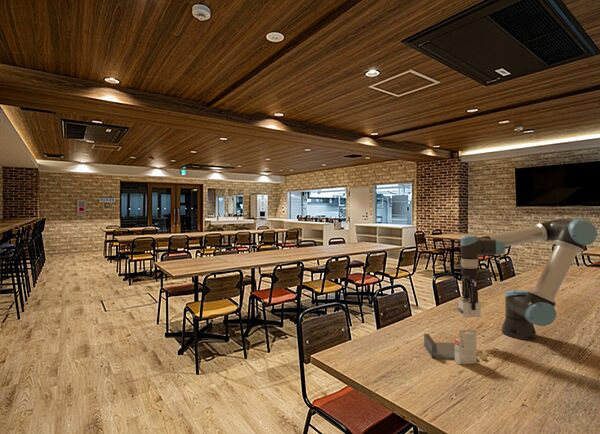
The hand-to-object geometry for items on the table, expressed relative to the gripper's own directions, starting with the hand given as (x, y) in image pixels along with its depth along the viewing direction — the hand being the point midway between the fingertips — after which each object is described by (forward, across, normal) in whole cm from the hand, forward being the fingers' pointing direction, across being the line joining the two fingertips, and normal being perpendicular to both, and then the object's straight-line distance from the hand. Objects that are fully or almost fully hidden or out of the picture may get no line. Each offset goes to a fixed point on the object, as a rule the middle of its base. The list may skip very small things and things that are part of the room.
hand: (469, 314), depth 163 cm
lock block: (0, 0, 0) cm, 1 cm away
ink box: (+15, +22, -10) cm, 28 cm away
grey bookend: (+14, +12, -14) cm, 24 cm away
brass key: (+14, +15, -1) cm, 21 cm away
